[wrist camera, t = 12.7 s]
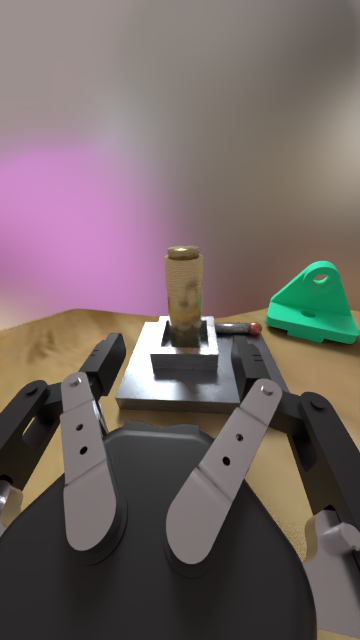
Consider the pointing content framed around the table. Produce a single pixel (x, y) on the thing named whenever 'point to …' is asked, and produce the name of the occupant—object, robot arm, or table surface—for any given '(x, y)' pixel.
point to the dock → (189, 369)
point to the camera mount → (314, 307)
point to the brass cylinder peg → (184, 295)
